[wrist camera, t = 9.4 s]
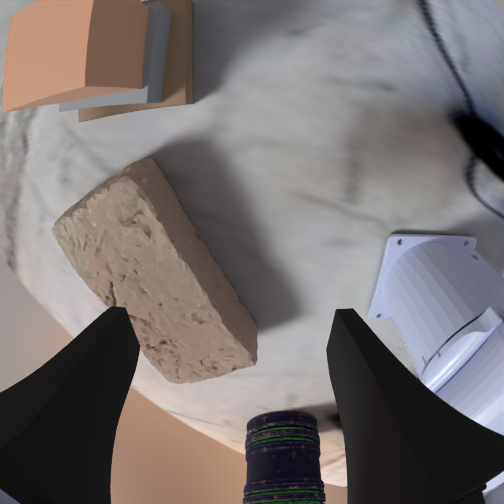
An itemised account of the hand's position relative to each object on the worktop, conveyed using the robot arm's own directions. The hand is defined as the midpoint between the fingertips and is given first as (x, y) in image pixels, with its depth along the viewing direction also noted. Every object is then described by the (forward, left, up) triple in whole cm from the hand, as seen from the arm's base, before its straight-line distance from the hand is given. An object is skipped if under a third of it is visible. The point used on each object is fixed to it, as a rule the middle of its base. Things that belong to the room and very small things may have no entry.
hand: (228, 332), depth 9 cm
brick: (+6, +5, -11) cm, 13 cm away
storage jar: (-4, +30, -11) cm, 32 cm away
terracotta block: (+6, -11, -6) cm, 14 cm away
